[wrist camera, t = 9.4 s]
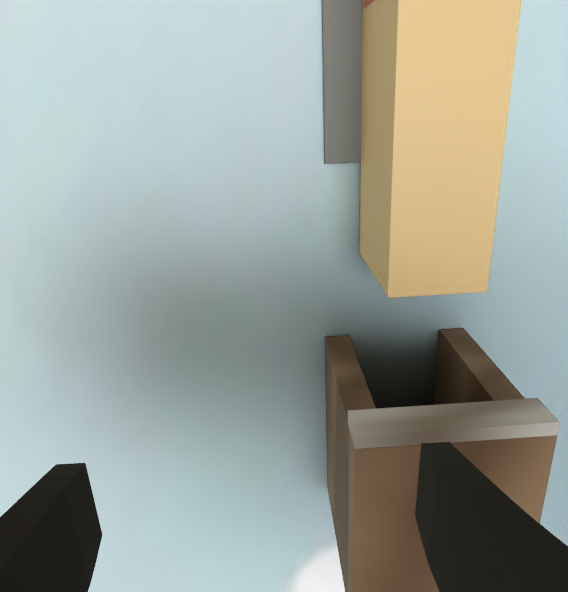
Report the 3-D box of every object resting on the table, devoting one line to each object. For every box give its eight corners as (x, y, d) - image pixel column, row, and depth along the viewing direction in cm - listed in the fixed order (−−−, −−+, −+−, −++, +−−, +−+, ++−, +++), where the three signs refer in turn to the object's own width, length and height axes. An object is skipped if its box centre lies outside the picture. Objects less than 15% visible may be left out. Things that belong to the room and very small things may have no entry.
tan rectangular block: (467, -146, 14) (552, -245, 10) (438, 248, 19) (488, 291, 15) (362, -142, 14) (404, -239, 10) (358, 253, 19) (386, 297, 15)
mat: (513, -198, 14) (516, -202, 14) (478, 154, 18) (480, 155, 18) (319, -190, 14) (319, -194, 14) (324, 162, 18) (325, 163, 18)
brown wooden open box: (464, 318, 20) (559, 422, 14) (448, 478, 23) (519, 623, 17) (324, 326, 20) (354, 436, 14) (327, 486, 23) (352, 636, 17)
